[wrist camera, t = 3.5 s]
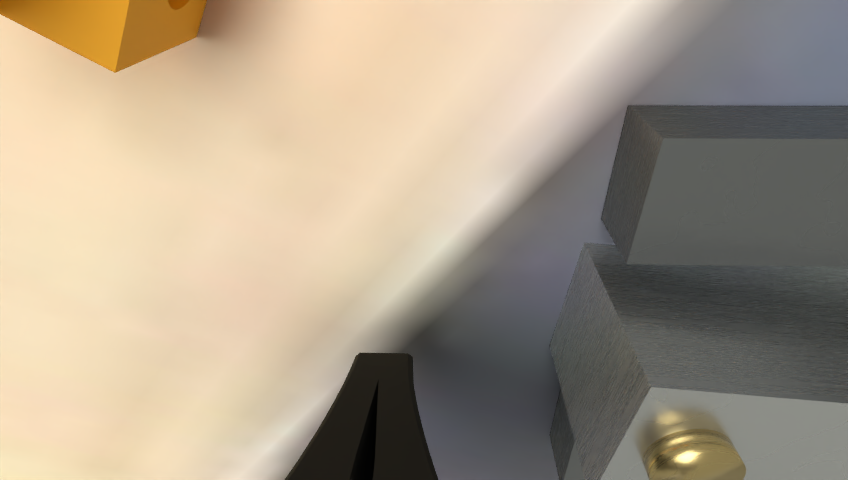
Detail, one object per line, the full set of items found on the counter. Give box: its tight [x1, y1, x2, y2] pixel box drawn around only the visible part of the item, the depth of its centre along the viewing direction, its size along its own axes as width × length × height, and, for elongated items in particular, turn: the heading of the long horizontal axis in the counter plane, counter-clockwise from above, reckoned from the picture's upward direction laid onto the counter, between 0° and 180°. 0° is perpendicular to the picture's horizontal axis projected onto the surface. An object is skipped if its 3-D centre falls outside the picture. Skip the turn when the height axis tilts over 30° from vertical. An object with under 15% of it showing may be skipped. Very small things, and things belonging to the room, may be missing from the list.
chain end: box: [550, 106, 848, 480], centre depth 12 cm, size 12×12×5 cm
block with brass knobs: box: [550, 243, 848, 480], centre depth 12 cm, size 4×10×6 cm, turn 85°
